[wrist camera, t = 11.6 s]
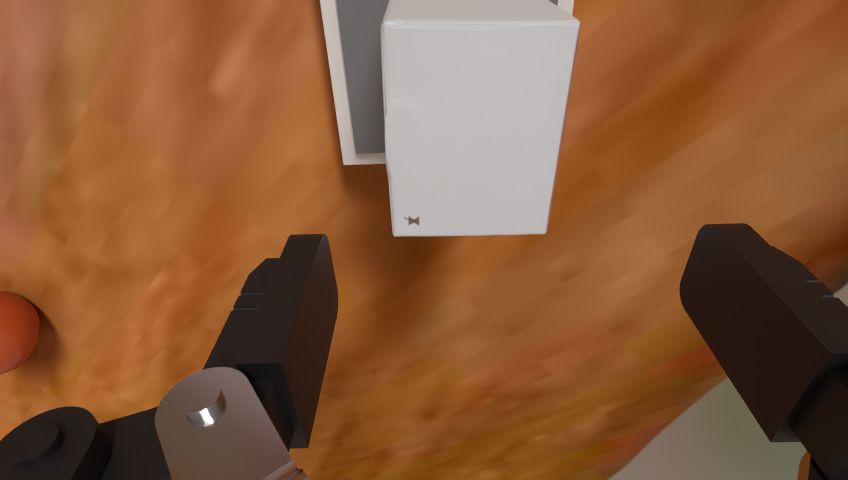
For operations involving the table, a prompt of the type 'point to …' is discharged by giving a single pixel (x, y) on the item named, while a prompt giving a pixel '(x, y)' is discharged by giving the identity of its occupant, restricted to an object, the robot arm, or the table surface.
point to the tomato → (16, 330)
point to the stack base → (361, 74)
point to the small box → (474, 113)
